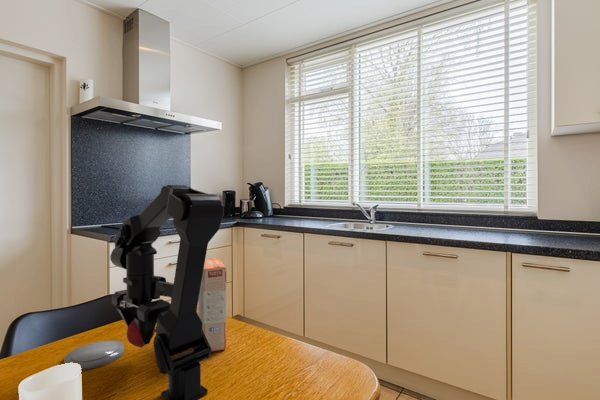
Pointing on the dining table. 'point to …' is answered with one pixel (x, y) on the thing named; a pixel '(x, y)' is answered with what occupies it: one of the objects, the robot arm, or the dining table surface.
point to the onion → (135, 335)
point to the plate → (95, 354)
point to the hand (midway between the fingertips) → (141, 340)
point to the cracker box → (213, 303)
